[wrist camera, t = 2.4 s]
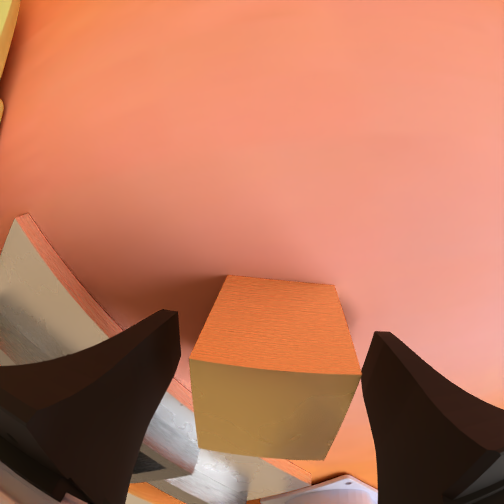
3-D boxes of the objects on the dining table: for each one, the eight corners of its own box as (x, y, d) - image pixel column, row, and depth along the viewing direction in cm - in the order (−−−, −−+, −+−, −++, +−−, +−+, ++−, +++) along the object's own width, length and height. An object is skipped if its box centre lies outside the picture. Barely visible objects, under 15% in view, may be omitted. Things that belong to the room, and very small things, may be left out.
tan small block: (334, 284, 11) (361, 374, 6) (316, 366, 12) (323, 460, 7) (227, 274, 11) (189, 358, 6) (225, 357, 12) (198, 448, 8)
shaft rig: (311, 473, 15) (311, 509, 12) (196, 498, 19) (189, 524, 16) (28, 212, 11) (-15, 229, 8) (-11, 320, 15) (-35, 339, 12)
